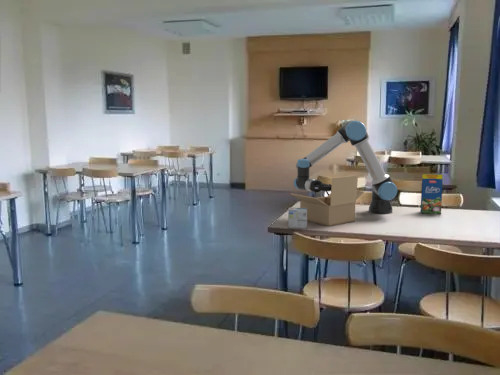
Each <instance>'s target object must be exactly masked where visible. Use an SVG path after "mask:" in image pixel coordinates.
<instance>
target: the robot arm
mask: <svg viewBox="0 0 500 375" xmlns="http://www.w3.org/2000/svg"><path fill="white" fill-rule="evenodd" d="M369 139H370V135H369V134H368V132H367V128H366V124H364V123H363V122H362V121H360V120H349V121H347V122H345V124H343V126H342V127H341V128H339V129H338V130H337V131H336V133H335V134H334V135H332V136H331V137H330V138H329V139H327V140H326V141H325V142H323V143H321V144H320V145H319V146H318V147H316V148H315V149H314V150H312V151H311V152H310V153H308V154H307V155H305V156H304V157H303V158H299V159H297V162H296V165H295V166H296V167H295V168H296V171H297V172H296V173H297V177H295V178H294V180H293V186H294V188H295V189H297V190H301V191H308V192H309V193H312V192H313V193H319V192H321V191H324V192H326V191H327V192H331V186H332V183H328V184H327V183H323V182H322V181H321V180H319V179H313V178H310V168H311V167H313V166H314V165H316V163H318V162H319V161H321V160H322V159H324V158H326V157H327V156H328V155H329V154H330V153H332V152H333V151H335V149H337V148H338V147H340V146H341V145H343V144H346V143H348V142H349V143H350V144H351V146H352V147H355V149H356V151H357V152H358V154H359V156H360V158H361V160H362V162H363V164H364V166H365V168H366V170H367V171H368V173H369V176H370V178H371V179H372V180H371V200H370V204H369V206H368V212H369V213H372V214H380V215H381V214H392V213H393V205H392V202H391V200H393V199H395V197H396V196H397V194H398V187H397V185H396V184H395V183H394V182H393V180H392V177H391V176H390V175H389V174H386V172H385V169H384V167H383V166H382V164H381V162H380V160H379V158H378V157H377V155H376V153H375V151H374V149H373V147H372V145H371V143H370V141H369Z"/></svg>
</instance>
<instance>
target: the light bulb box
mask: <svg viewBox="0 0 500 375" xmlns="http://www.w3.org/2000/svg"><path fill="white" fill-rule="evenodd" d="M287 213H288V214H287V215H288V218H287V220H288V221H287V222H288V223H287V224H288V229H307V228H308V221H307V208H300V207H288V211H287Z"/></svg>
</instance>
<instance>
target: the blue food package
mask: <svg viewBox="0 0 500 375" xmlns="http://www.w3.org/2000/svg"><path fill="white" fill-rule="evenodd" d="M421 180H422V181H421V193H420V194H421V196H420V213H421V214H430V215H431V214H432V215H442V204H443V203H442V200H443V174H427V173H426V174H424V173H423V174H422V178H421Z"/></svg>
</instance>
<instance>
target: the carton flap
mask: <svg viewBox="0 0 500 375" xmlns="http://www.w3.org/2000/svg"><path fill="white" fill-rule="evenodd" d="M358 178H359V175H358V174H356V175H349V176H347V175H346V176H340V177H332V178H331V185H332V186H331V191H330V193H331V202H330V206H335V205H341V204H347V203H354V202H355V203H357V200H356V195H357V190H358V180H359V179H358Z"/></svg>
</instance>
